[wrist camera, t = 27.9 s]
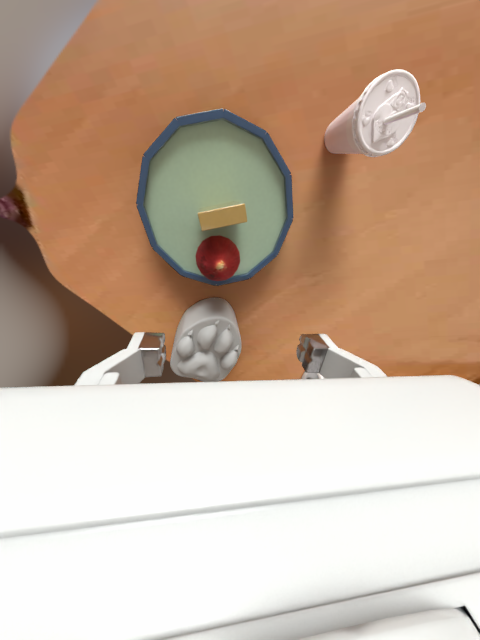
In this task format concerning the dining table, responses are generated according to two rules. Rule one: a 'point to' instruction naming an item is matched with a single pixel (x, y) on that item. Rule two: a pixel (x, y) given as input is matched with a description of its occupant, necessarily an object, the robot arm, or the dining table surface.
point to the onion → (217, 258)
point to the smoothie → (377, 117)
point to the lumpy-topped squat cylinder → (206, 341)
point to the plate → (215, 192)
